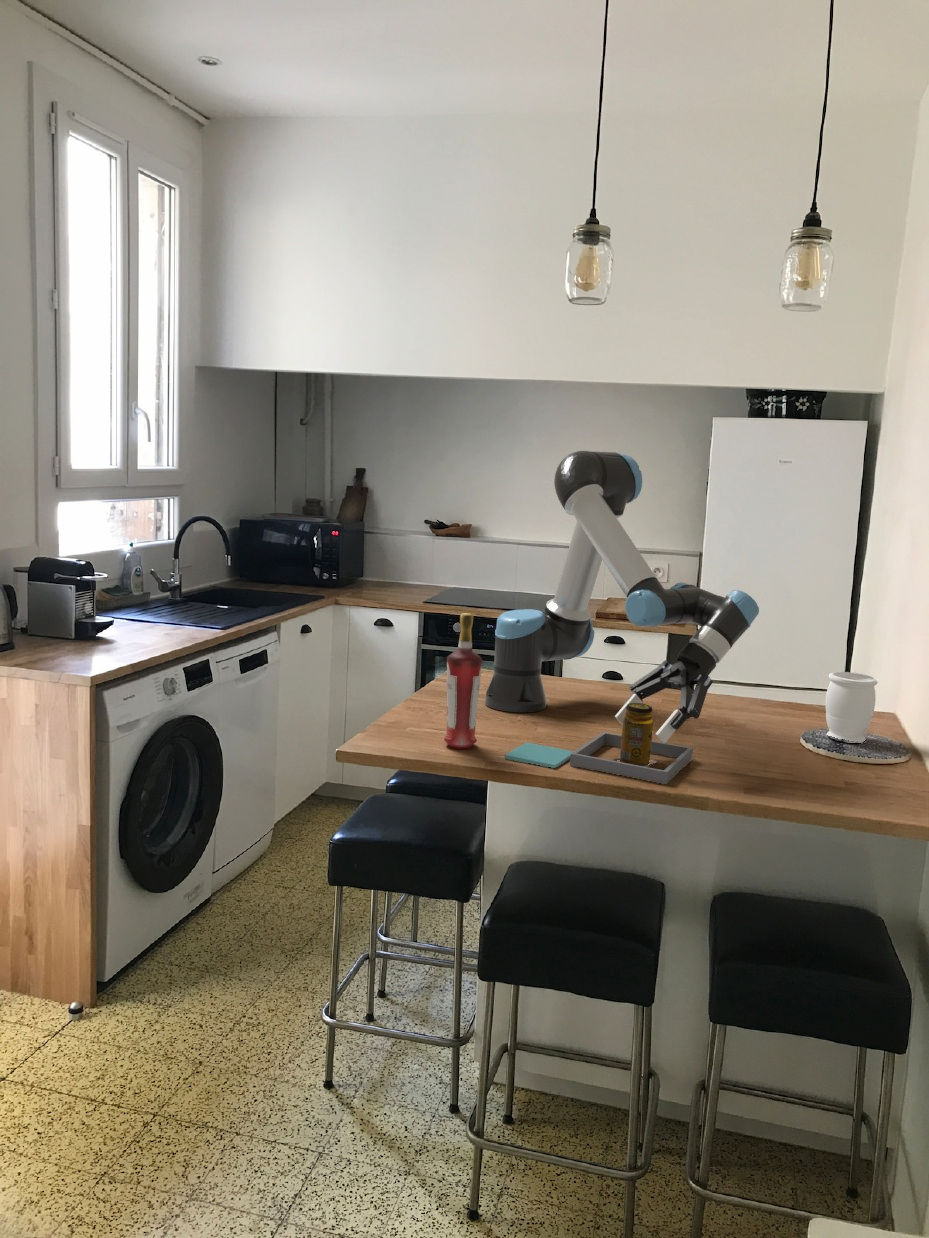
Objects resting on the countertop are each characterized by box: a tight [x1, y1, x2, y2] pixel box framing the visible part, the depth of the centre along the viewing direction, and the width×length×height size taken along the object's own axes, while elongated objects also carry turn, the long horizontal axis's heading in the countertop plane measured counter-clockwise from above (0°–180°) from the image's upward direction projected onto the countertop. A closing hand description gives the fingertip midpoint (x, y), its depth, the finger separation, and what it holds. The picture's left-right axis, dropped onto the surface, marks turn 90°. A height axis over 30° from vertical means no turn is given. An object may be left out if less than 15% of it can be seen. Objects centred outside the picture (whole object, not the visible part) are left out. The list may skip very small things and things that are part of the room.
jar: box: [824, 671, 879, 742], centre depth 223 cm, size 11×10×15 cm
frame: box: [569, 731, 694, 785], centre depth 198 cm, size 20×20×2 cm
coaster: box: [504, 742, 575, 769], centre depth 198 cm, size 11×11×1 cm
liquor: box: [443, 613, 483, 750], centre depth 201 cm, size 7×7×28 cm
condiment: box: [611, 702, 658, 767], centre depth 197 cm, size 7×8×12 cm
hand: (638, 729), depth 196 cm, fingers open, 13 cm apart
